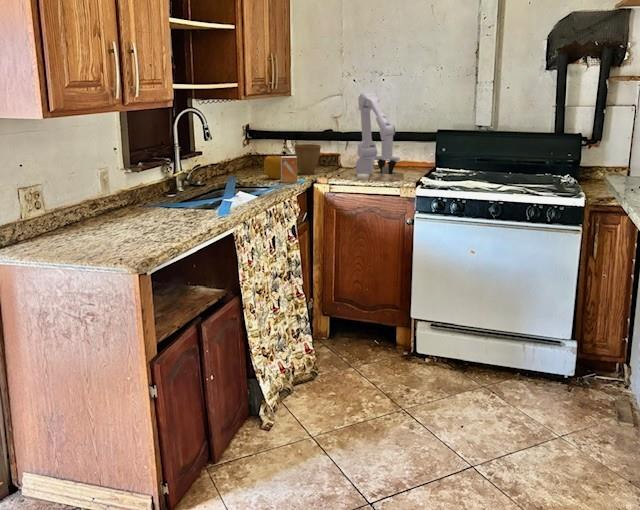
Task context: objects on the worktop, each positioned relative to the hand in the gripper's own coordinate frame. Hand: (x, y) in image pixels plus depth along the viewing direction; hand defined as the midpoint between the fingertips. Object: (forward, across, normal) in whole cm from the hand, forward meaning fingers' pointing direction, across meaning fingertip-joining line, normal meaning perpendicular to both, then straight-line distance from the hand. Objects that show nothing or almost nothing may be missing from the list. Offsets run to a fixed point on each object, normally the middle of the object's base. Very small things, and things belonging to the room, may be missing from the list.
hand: (386, 174), depth 335 cm
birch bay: (+3, 0, 0) cm, 3 cm away
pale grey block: (+3, -10, -7) cm, 13 cm away
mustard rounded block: (+3, -51, -31) cm, 60 cm away
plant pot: (+3, -48, -5) cm, 48 cm away
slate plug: (+2, 0, 0) cm, 2 cm away
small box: (+3, -38, -35) cm, 52 cm away
